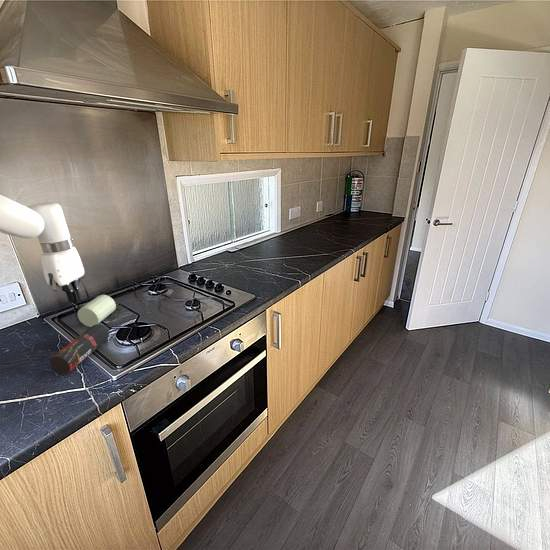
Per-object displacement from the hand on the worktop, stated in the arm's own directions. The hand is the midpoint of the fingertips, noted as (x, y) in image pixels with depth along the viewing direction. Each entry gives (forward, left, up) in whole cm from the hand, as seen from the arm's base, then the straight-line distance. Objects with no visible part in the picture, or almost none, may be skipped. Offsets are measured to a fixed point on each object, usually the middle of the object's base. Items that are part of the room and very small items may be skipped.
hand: (75, 301), depth 93 cm
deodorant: (+10, -19, -8) cm, 23 cm away
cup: (0, +2, -8) cm, 8 cm away
